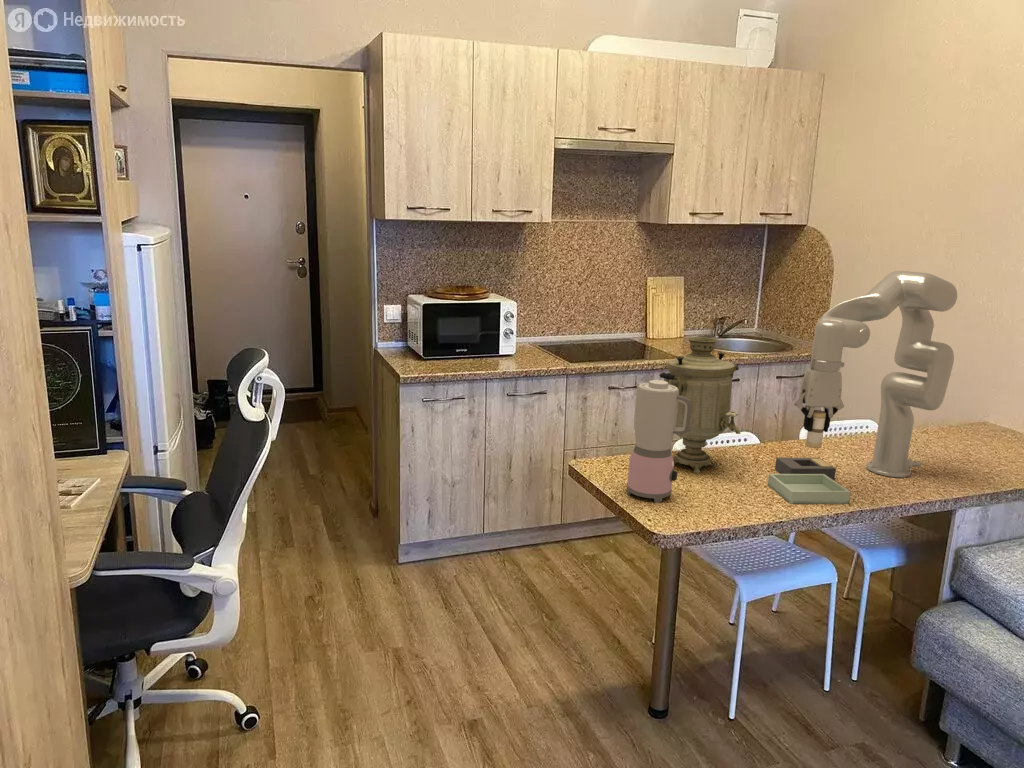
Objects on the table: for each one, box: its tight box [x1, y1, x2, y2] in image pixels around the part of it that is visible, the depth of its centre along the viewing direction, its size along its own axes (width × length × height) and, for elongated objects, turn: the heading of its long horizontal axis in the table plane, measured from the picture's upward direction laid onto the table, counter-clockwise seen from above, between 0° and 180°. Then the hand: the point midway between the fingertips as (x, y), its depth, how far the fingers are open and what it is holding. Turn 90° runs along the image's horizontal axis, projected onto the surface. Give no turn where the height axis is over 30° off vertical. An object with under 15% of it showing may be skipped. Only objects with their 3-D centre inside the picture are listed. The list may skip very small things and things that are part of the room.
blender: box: [626, 379, 692, 503], centre depth 200 cm, size 16×12×32 cm
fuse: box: [805, 409, 826, 449], centre depth 204 cm, size 4×4×10 cm
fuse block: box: [774, 456, 837, 481], centre depth 224 cm, size 14×10×4 cm
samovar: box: [658, 336, 741, 475], centre depth 222 cm, size 30×26×40 cm
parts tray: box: [767, 473, 851, 505], centre depth 209 cm, size 17×14×4 cm
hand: (815, 429), depth 204 cm, fingers closed on fuse, 4 cm apart
